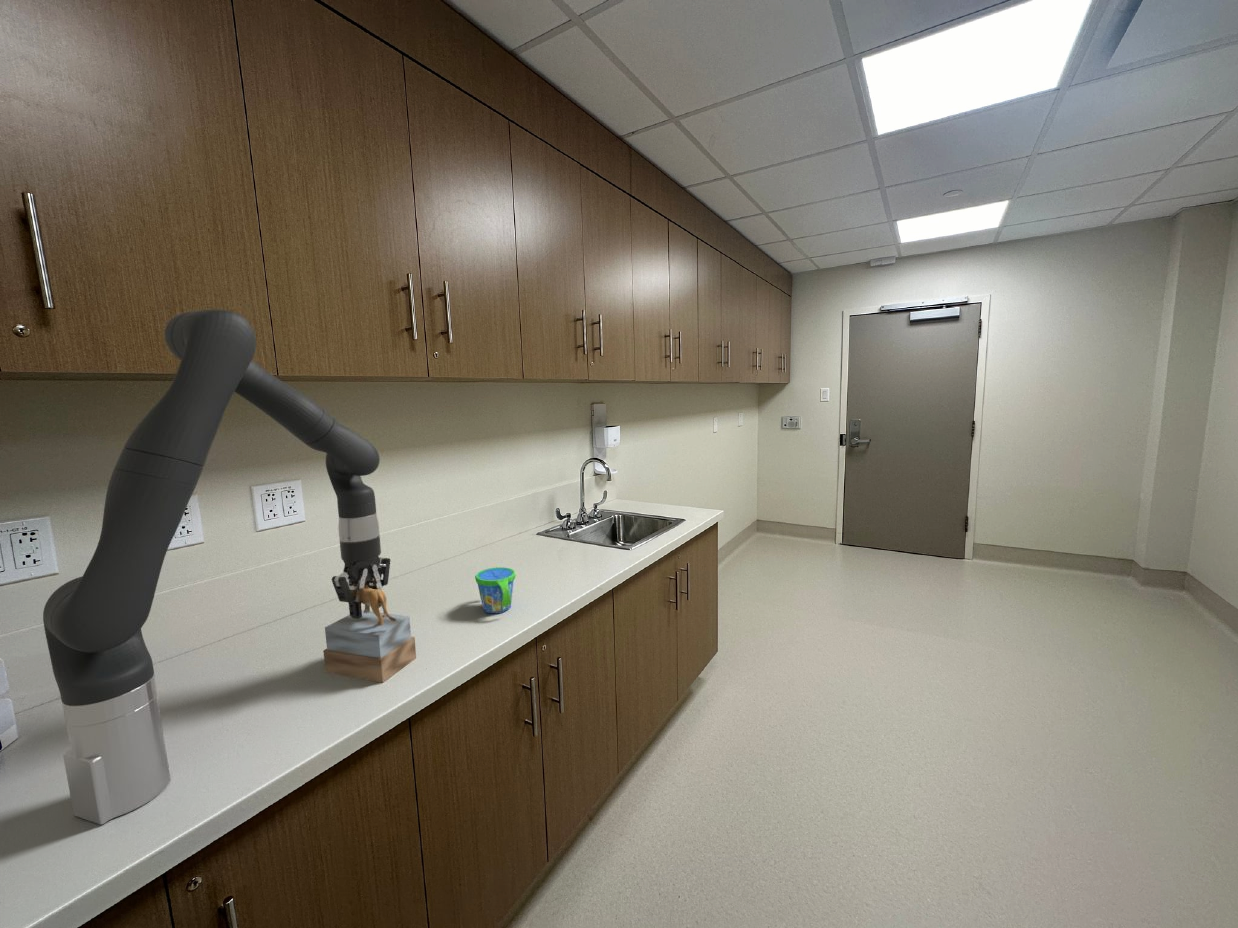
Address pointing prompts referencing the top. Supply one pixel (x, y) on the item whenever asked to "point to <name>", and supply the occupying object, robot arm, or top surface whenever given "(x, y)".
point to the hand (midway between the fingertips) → (366, 612)
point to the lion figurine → (374, 602)
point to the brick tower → (369, 647)
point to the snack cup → (496, 588)
